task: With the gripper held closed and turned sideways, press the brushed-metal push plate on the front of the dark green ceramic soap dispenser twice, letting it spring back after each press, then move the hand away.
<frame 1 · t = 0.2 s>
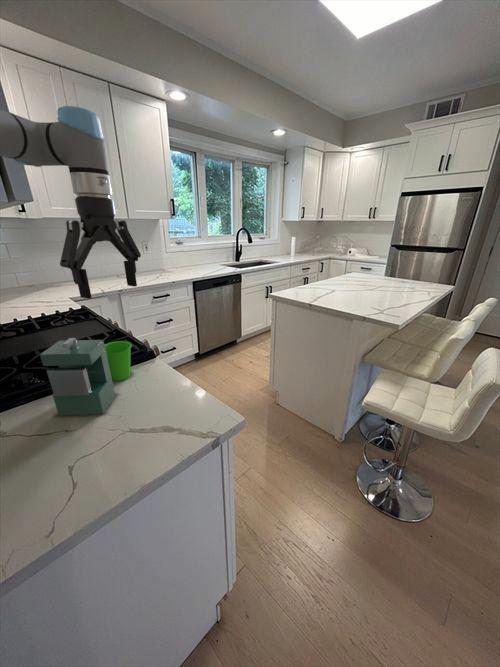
hand: (111, 291, 69), 30 cm above the countertop, tool pointing down, fingers open, 13 cm apart
push plate: (70, 381, 66), point 11 cm above the countertop, slide at -0.1 cm
dispenser: (89, 407, 74), on the countertop
cup: (121, 378, 88), on the countertop
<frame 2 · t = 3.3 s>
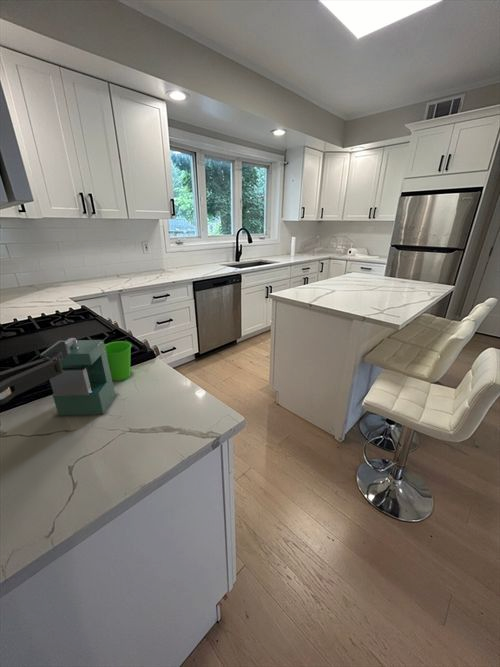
hand: (26, 349, 52), 24 cm above the countertop, tool horizontal, fingers open, 13 cm apart
nothing on the countertop moved.
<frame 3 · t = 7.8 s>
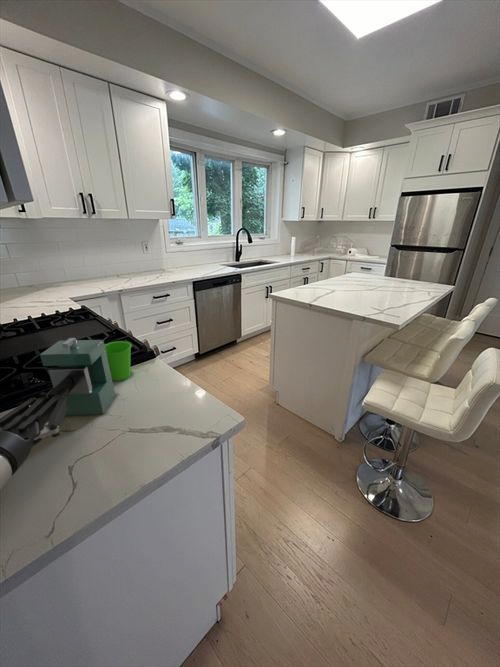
hand: (69, 383, 65), 11 cm above the countertop, tool horizontal, fingers closed
push plate: (71, 380, 66), point 11 cm above the countertop, slide at 0.4 cm, touching gripper
everything else where it was.
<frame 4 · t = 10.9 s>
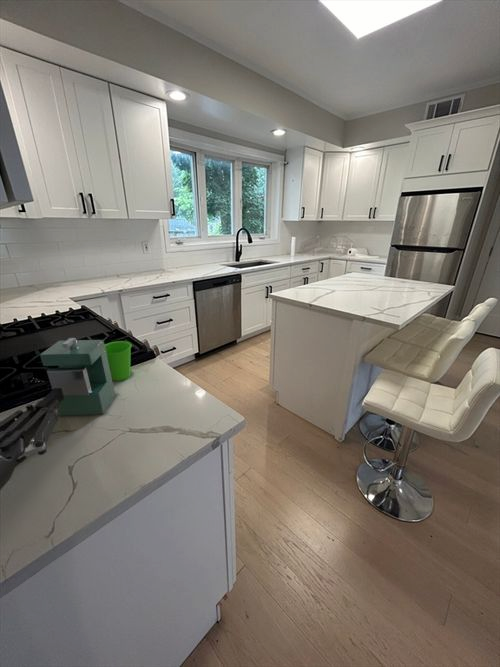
hand: (59, 393, 62), 11 cm above the countertop, tool horizontal, fingers closed
push plate: (70, 381, 66), point 11 cm above the countertop, slide at -0.1 cm
everything else where it was.
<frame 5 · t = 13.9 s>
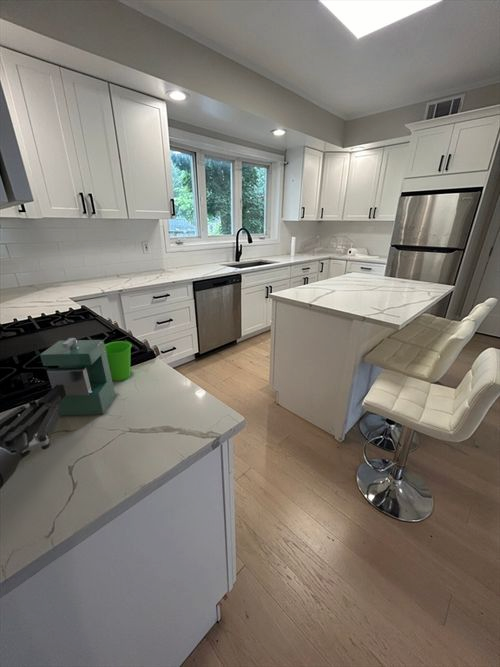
hand: (61, 389, 62), 11 cm above the countertop, tool horizontal, fingers closed
nothing on the countertop moved.
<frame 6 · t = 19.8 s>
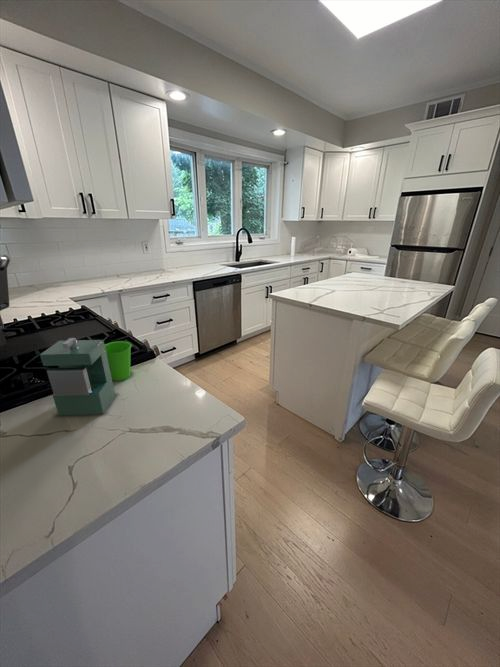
nothing on the countertop moved.
at the end: push plate pulled out 0.9 cm at the most during the clip, back to where it started at the end; push plate slide at -0.1 cm; cup moved 0.2 cm from its start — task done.
